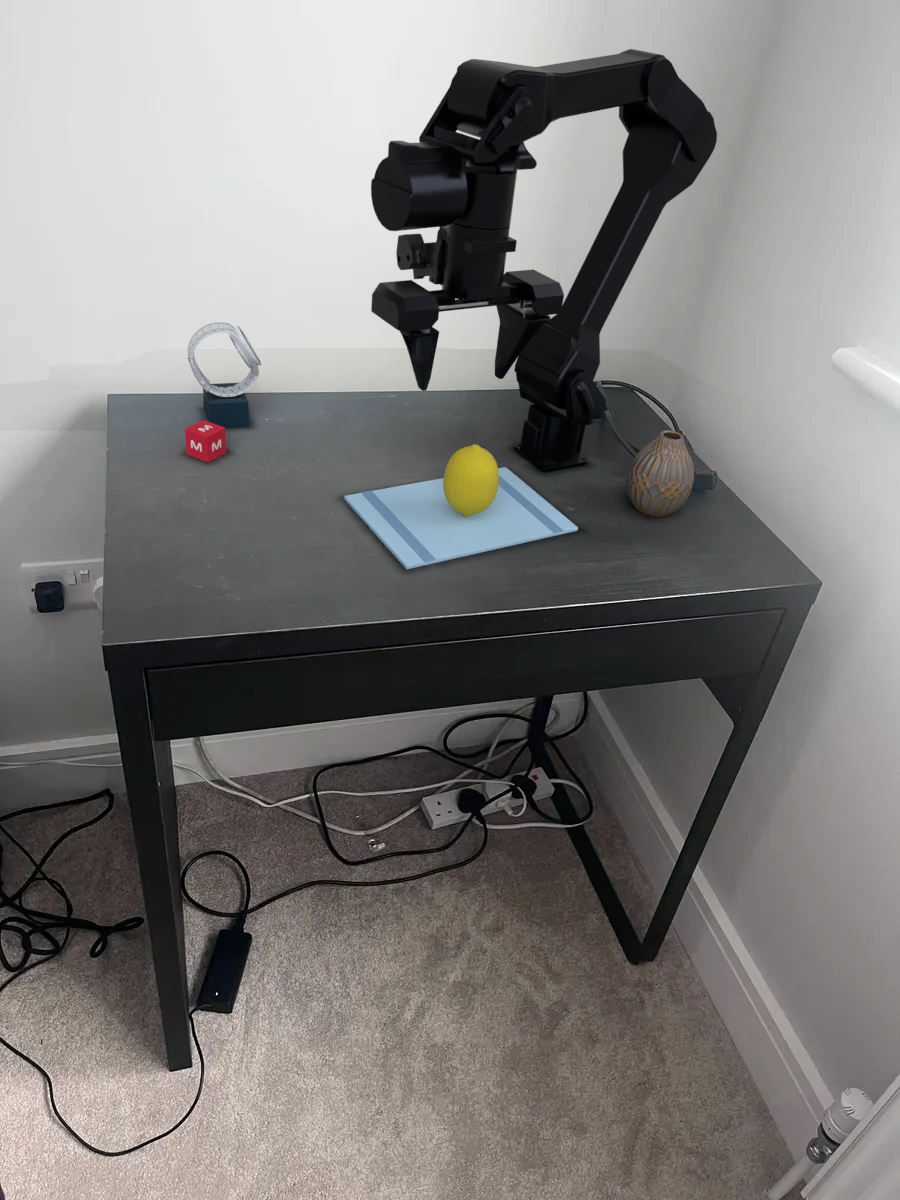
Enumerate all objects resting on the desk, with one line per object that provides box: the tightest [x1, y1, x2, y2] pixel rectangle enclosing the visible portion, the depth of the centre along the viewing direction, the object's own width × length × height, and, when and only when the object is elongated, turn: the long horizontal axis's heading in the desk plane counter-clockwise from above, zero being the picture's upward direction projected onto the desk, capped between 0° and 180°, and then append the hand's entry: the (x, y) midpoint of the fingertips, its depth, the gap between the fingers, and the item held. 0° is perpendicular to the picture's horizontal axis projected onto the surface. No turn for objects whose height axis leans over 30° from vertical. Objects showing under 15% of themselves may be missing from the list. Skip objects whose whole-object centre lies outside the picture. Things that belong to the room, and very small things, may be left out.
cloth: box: [343, 466, 579, 570], centre depth 95 cm, size 20×14×1 cm
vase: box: [626, 429, 695, 518], centre depth 98 cm, size 7×7×9 cm
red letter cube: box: [184, 419, 227, 463], centre depth 99 cm, size 3×3×3 cm
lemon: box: [443, 443, 499, 517], centre depth 92 cm, size 6×6×8 cm
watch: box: [187, 321, 262, 429], centre depth 104 cm, size 6×8×11 cm
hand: (461, 383), depth 93 cm, fingers open, 9 cm apart
